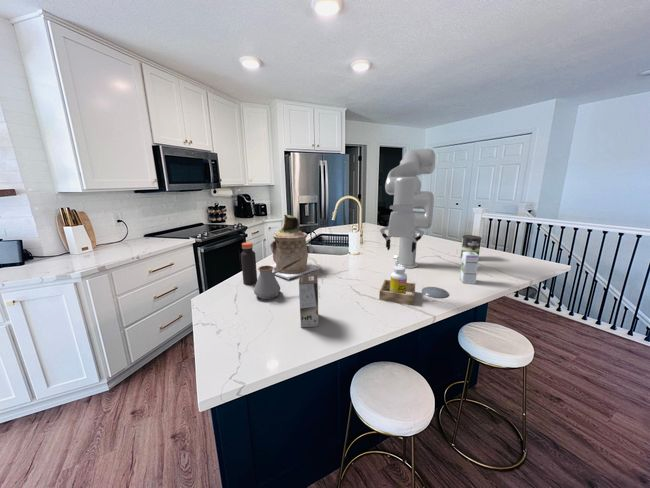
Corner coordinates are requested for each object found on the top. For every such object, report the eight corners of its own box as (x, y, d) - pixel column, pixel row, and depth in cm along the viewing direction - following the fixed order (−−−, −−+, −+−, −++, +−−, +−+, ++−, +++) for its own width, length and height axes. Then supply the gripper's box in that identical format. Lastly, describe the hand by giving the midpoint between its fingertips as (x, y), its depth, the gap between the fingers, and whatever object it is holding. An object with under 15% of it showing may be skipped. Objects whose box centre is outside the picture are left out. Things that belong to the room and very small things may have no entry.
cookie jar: (321, 269, 146) (320, 213, 138) (287, 281, 129) (284, 218, 121) (293, 260, 163) (291, 209, 155) (259, 270, 145) (255, 214, 137)
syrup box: (475, 284, 123) (479, 255, 120) (462, 283, 124) (466, 254, 121) (471, 279, 129) (475, 251, 125) (458, 279, 130) (462, 251, 126)
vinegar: (240, 282, 128) (236, 243, 123) (252, 278, 133) (249, 241, 128) (248, 286, 124) (244, 245, 119) (260, 282, 129) (257, 243, 124)
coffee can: (481, 261, 157) (484, 238, 153) (463, 260, 158) (465, 238, 155) (474, 256, 166) (477, 235, 163) (457, 255, 168) (460, 234, 165)
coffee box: (319, 326, 89) (318, 283, 85) (300, 327, 89) (298, 284, 85) (317, 313, 98) (316, 273, 94) (300, 314, 97) (299, 274, 94)
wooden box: (379, 299, 108) (379, 290, 107) (384, 287, 120) (385, 279, 119) (412, 305, 103) (413, 295, 102) (414, 291, 115) (415, 283, 114)
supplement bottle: (397, 300, 108) (398, 271, 104) (386, 294, 113) (387, 266, 110) (408, 297, 111) (411, 268, 107) (398, 291, 116) (399, 264, 113)
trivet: (416, 292, 115) (416, 291, 115) (429, 285, 122) (429, 284, 122) (440, 300, 107) (440, 299, 107) (452, 293, 114) (453, 292, 114)
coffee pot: (255, 303, 107) (252, 269, 103) (253, 292, 117) (250, 260, 113) (305, 295, 113) (304, 262, 110) (299, 285, 124) (297, 255, 120)
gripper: (379, 209, 102) (377, 250, 106) (426, 210, 96) (422, 254, 100) (382, 207, 109) (381, 246, 113) (426, 208, 103) (422, 250, 107)
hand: (400, 250), depth 107 cm, fingers open, 9 cm apart
